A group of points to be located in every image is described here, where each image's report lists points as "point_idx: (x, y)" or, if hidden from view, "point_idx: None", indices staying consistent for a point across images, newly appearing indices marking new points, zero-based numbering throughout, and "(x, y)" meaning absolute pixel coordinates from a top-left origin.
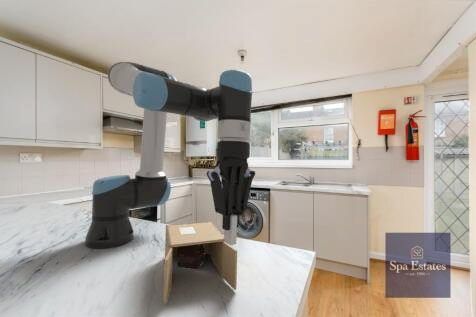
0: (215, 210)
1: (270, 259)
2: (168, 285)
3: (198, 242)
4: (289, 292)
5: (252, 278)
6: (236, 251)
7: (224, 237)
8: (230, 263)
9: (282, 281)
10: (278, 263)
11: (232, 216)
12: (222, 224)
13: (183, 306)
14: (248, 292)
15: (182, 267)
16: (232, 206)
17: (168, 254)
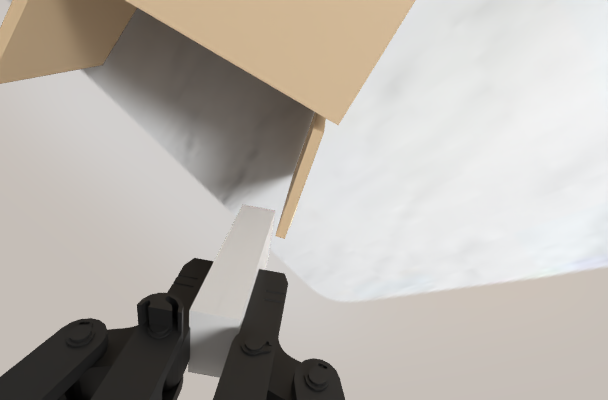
0: (58, 335)
1: (586, 141)
2: (92, 44)
3: (190, 37)
4: (396, 276)
5: (397, 167)
6: (281, 235)
7: (237, 218)
8: (295, 173)
9: (439, 243)
10: (562, 183)
11: (191, 371)
12: (177, 277)
13: (147, 103)
14: (322, 198)
15: None
16: (232, 386)
17: (3, 34)
